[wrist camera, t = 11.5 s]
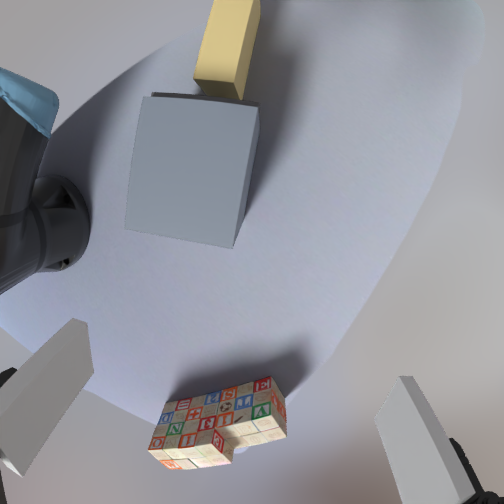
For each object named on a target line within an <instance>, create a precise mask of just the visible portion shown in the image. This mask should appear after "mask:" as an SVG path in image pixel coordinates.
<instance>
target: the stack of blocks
mask: <svg viewBox="0 0 504 504" xmlns="http://www.w3.org/2000/svg"><path fill="white" fill-rule="evenodd" d="M286 430H287V428H286V408H285V398H284V397H283V395H282V393H281V392H280V390H279V388H278V386H277V384H276V383H275V381H274V380H273V378H272V377H267V378H264V379H261V380H258V381H255V382H250V383H246V384H243V385H240V386H236V387H232V388H228V389H224V390H222V391H218V392H214V393H210V394H207V395H202V396H198V397H194V398H188V399H183V400H179V401H173V402H168V403H165V406H164V409H163V411H162V414H161V417H160V419H159V422H158V424H157V426H156V428H155V431H154V433H153V436H152V441H151V443H150V445H149V448H148V451H149V452H150V453H151V454H152V455H153V456H154V457H155V458H156V459H157V460H159V461H160V462H161V463H162V464H163V465H165V466H166V467H167V468H168V469H195V468H198V467H200V468H203V467H210V466H215V465H216V466H217V465H223V464H230V463H232V459H233V452H234V449H237V448H242V447H247V446H252V445H257V444H262V443H266V442H269V441H274V440H278V439H281V438H285V437H287V431H286Z"/></svg>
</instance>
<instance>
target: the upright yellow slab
mask: <svg viewBox="0 0 504 504" xmlns="http://www.w3.org/2000/svg"><path fill="white" fill-rule="evenodd" d="M260 17H261V11H260V0H214V3H213V6H212V9H211V13H210V16H209V19H208V23H207V26H206V30H205V33H204V37H203V41H202V44H201V48H200V52H199V56H198V60H197V64H196V68H195V72H194V77H193V79H194V80H195V82H196V83H197V84H198V85H199V86H200V88H201V89H202V90H203V91H204V92H205V94H206V95H207V96H213V97H222V98H230V99H237V100H242V99H243V94H244V89H245V84H246V80H247V75H248V70H249V65H250V61H251V56H252V52H253V47H254V43H255V38H256V34H257V29H258V25H259V21H260Z"/></svg>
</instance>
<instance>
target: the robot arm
mask: <svg viewBox="0 0 504 504" xmlns="http://www.w3.org/2000/svg"><path fill="white" fill-rule="evenodd" d="M58 109H59V99H58V97H57V95H56V94H55V92H53V91H52V90H50V89H48V88H46V87H44V86H42V85H40V84H38V83H35V82H33V81H31V80H29V79H27V78H25V77H22V76H20V75H18V74H15V73H13V72H11V71H8V70H6V69H3V68H1V67H0V295H1V294H2V293H4V292H5V291H7V290H8V289H10V288H11V287H13V286H15V285H16V284H18V283H19V282H21V281H23V280H24V279H26V278H28V277H29V276H31V275H32V274H34V273H38V272H57V271H61V270H64V269H66V268H68V267H70V266H71V265H73V264H75V263H76V262H77V261H78V260H79V259H80V258H81V256H82V255H83V253H84V251H85V249H86V247H87V243H88V239H89V228H90V226H89V216H88V211H87V207H86V204H85V202H84V199H83V197H82V195H81V193H80V192H79V190H78V189H77V188H76V186H75V185H74V184H73V183H72V182H70V181H69V180H68V179H66V178H64V177H61V176H57V175H51V176H43V177H40V178H37V179H36V177H37V173H38V169H39V166H40V163H41V160H42V157H43V154H44V151H45V148H46V145H47V142H48V139H50V137H51V130H52V126H53V123H54V120H55V117H56V115H57V112H58ZM93 373H94V369H93V363H92V357H91V350H90V343H89V335H88V326H87V323H86V322H83V321H80V320H77V319H74V318H72V319H71V320H70V321H69V322H68V323H67V324H65V325H64V326H63V327H62V328H61V329H60V330H59V331H58V332H57V333H56V334H55V335H54V336H52V337H51V338H50V339H49V340H48V341H47V342H46V343H45V344H44V345H43V346H42V347H41V348H40V349H39V350H38V351H37V352H36V353H35V354H34V355H33V356H32V357H31V358H30V359H28V360H27V361H26V362H25V363H24V364H23V365H22V366H21V367H20V368H19V369H18V370H17V369H15V368H13V367H12V368H10V369H8V370H5V371H3V372H1V373H0V458H1V459H2V461H3V462H4V463H5V465H6V466H7V467H8V468H10V469H11V470H12V471H14V472H15V473H17V474H18V475H20V476H21V477H23V476H24V475H25V473H26V471H27V470H28V468H29V467H30V465H31V463H32V462H33V460H34V459H35V457H36V456H37V454H38V452H39V451H40V449H41V448H42V446H43V445H44V443H45V442H46V440H47V439H48V437H49V436H50V434H51V433H52V431H53V430H54V428H55V427H56V425H57V424H58V422H59V421H60V420H61V418H62V417H63V415H64V414H65V412H66V411H67V409H68V408H69V406H70V405H71V404H72V402H73V401H74V400H75V398H76V397H77V395H78V394H79V392H80V391H81V389H82V388H83V387H84V386H85V384H86V383H87V381H88V380H89V379H90V377H91V376H92V375H93ZM374 420H375V423H376V426H377V429H378V431H379V434H380V437H381V440H382V442H383V446H384V448H385V451H386V454H387V457H388V460H389V463H390V466H391V469H392V472H393V475H394V478H395V481H396V484H397V487H398V491H399V494H400V497H401V500H402V504H504V497H499V496H498V495H497V494H496V493H494V492H490V491H487V492H485V491H484V490H483V489H482V486H481V484H480V482H479V481H478V478H477V476H476V474H475V472H474V470H473V468H472V466H471V464H469V461H468V459H467V457H465V453H464V451H463V449H462V448H461V446H460V445H459V444H458V443H457V442H456V441H455V440H454V439H453V438H448V437H447V435H446V433H445V431H444V429H443V427H442V426H441V424H440V422H439V420H438V419H437V417H436V415H435V413H434V411H433V410H432V408H431V406H430V404H429V403H428V401H427V399H426V398H425V396H424V394H423V392H422V391H421V390H420V387H419V386H418V384H417V383H416V381H415V379H414V378H413V376H399V377H398V379H397V380H396V382H395V384H394V386H393V388H392V390H391V391H390V393H389V395H388V397H387V399H386V400H385V402H384V403H383V405H382V407H381V408H380V410H379V412H378V413H377V415H376V417H375V418H374ZM0 504H7V501H6V497H5V492H4V487H3V482H2V477H1V471H0Z"/></svg>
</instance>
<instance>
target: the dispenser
mask: <svg viewBox="0 0 504 504" xmlns="http://www.w3.org/2000/svg"><path fill="white" fill-rule="evenodd" d="M259 109H260V103H257V102H251V101H244V100H237V99H230V98H222V97H213V96H203V95H192V94H178V93H159V92H152V94H151V97H143V100H142V105H141V110H140V115H139V120H138V125H137V131H136V136H135V142H134V148H133V155H132V162H131V169H130V177H129V185H128V194H127V204H126V216H125V229H126V230H132V231H137V232H142V233H148V234H153V235H158V236H164V237H169V238H175V239H180V240H185V241H191V242H196V243H202V244H207V245H212V246H218V247H223V248H228V249H233V246H234V243H235V241H236V238H237V236H238V233H239V230H240V228H241V225H242V223H243V219H244V214H245V208H246V202H247V197H248V191H249V186H250V180H251V175H252V170H253V164H254V159H255V153H256V148H257V143H258V138H259V132H260V123H259Z"/></svg>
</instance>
